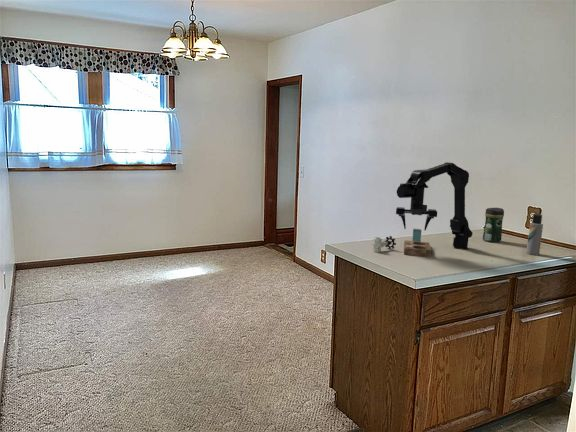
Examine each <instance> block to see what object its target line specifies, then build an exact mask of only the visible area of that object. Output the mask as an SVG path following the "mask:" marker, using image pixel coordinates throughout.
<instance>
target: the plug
mask: <svg viewBox="0 0 576 432" xmlns="http://www.w3.org/2000/svg"><path fill="white" fill-rule="evenodd" d="M421 239H422V229H421V228H413V229H412V239H411V241H417V242H422V241H421Z"/></svg>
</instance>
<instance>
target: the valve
mask: <svg viewBox="0 0 576 432" xmlns="http://www.w3.org/2000/svg"><path fill="white" fill-rule="evenodd" d="M395 241H396V238H393V236H392V235H390V236H386V237H385V240H384V241H383V240H382V238H381V237H377V236H376V237H373V243H372V252H374V253H381V252H382V248H384V247H385V248H388V250H391V249H392V250H393V249H395V246H396V245H397V242H395Z"/></svg>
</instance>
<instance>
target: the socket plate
mask: <svg viewBox="0 0 576 432" xmlns="http://www.w3.org/2000/svg"><path fill="white" fill-rule="evenodd" d="M403 255H408V256H417V257H427V256H428V258H431V257H432V256H431V255H432V249H431V244H430V242H426V241H421V242H417V241H412V240H405V239H404V242H403Z"/></svg>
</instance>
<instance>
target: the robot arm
mask: <svg viewBox="0 0 576 432" xmlns="http://www.w3.org/2000/svg"><path fill="white" fill-rule="evenodd" d="M443 174H447V175H448V176H449V177H450V182H451V184H452V185H453V188H454V195H453V197H454V203H453V204H454V214H453V215H454V216H453V218H451V219H449V223H450V225H449V227H450V230H451V234H452V235H454V237H453V238H452V239H453V240H452V247H454V249H462V250H468V249H469V247H468V245H469V238H472V237H473V233H474V232H472V230H471V229H470V227H469V226H470V225H469V220H468V219H467V217H466V186H467V185H468V183H469V180H470V173H469V172H468V170H466V169H464V168H462V167H459V166H457V164H455V163H454V162H450V161H449V162H444V163H443V164H439V165H436V166H433V167H430V168H427V169H426V168H425V169H416V170H412V171H411V174H410V176H409V177H408V178H407V180H406V182H405V183H403V182H401V183H400V185H399V186H398V187H397V189H396V196H397V197H398V198H400V199H410V207H409V209H406V208H405V207H399V206H397V207H396V209H395V215H398V217H400V218H401V220H402V224H403V227H404V230H406V225H407V224H406V214H411V215H413V216H423V215H426V218H425V223H424V229H423V230H424V231H426V230H427V228H428V225H429V224H430V222H431V220H433V219H435V218H437V217H438V210H436V209H433V208H428V205H427V204H424V201H425V200H424V199H425V198H424V197H425V189H428V188H429V186H428V185H427V184H426V183H427V182H429V181H430V180H431V179H433V178H435V177H437V176H439V175H443Z"/></svg>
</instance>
